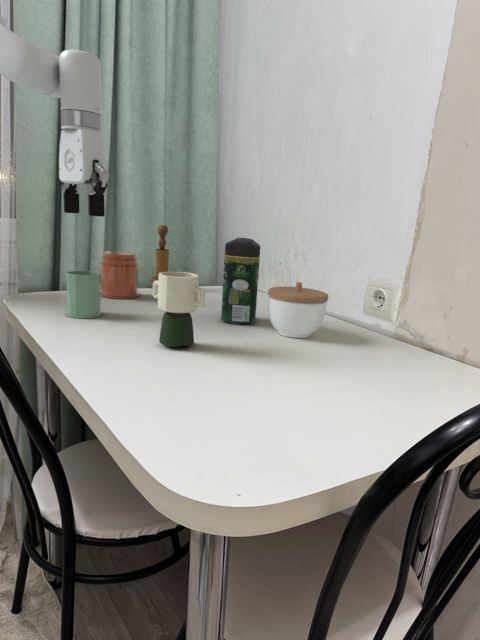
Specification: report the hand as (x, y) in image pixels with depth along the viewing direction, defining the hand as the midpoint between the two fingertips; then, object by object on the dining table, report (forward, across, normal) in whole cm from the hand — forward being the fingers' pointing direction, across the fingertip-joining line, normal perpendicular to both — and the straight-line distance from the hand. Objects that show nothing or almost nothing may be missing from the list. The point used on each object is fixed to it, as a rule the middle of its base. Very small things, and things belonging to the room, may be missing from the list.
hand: (83, 214), depth 103 cm
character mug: (+22, +28, +2) cm, 36 cm away
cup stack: (+21, -16, +19) cm, 33 cm away
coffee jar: (+22, +20, +27) cm, 39 cm away
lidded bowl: (+22, +34, +29) cm, 50 cm away
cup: (+21, 0, 0) cm, 21 cm away
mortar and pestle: (+21, -22, +37) cm, 48 cm away
